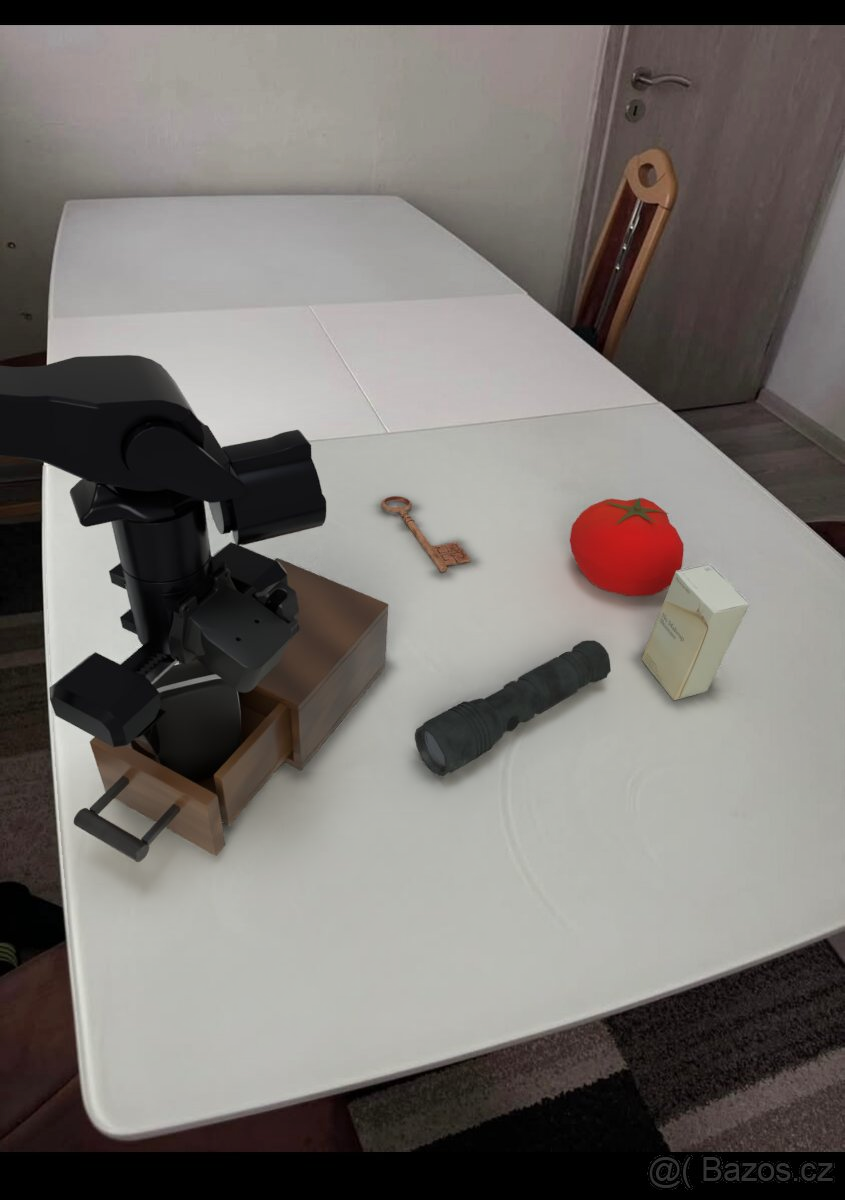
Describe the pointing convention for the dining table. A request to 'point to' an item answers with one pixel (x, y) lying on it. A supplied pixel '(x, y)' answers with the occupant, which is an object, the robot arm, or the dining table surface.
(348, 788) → the dining table surface
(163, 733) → the battery charger
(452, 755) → the flashlight
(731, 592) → the cosmetic box
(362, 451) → the dining table surface
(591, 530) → the tomato
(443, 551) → the key
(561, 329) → the dining table surface
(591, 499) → the dining table surface
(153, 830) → the drawer
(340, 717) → the cabinet
